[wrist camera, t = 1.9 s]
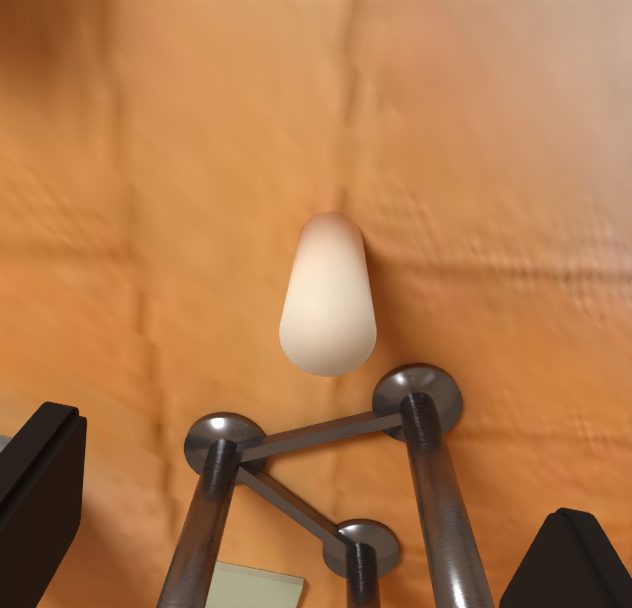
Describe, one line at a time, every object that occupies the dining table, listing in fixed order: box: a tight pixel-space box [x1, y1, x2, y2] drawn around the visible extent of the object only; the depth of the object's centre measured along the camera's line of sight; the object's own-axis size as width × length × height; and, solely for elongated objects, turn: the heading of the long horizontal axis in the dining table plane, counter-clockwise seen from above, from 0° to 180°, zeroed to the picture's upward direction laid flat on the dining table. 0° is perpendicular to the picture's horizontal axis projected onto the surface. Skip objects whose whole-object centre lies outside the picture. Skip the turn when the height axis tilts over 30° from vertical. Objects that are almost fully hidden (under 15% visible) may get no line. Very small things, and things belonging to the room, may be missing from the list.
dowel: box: [279, 212, 377, 377], centre depth 22 cm, size 3×3×10 cm
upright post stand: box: [156, 363, 495, 608], centre depth 25 cm, size 15×17×15 cm
